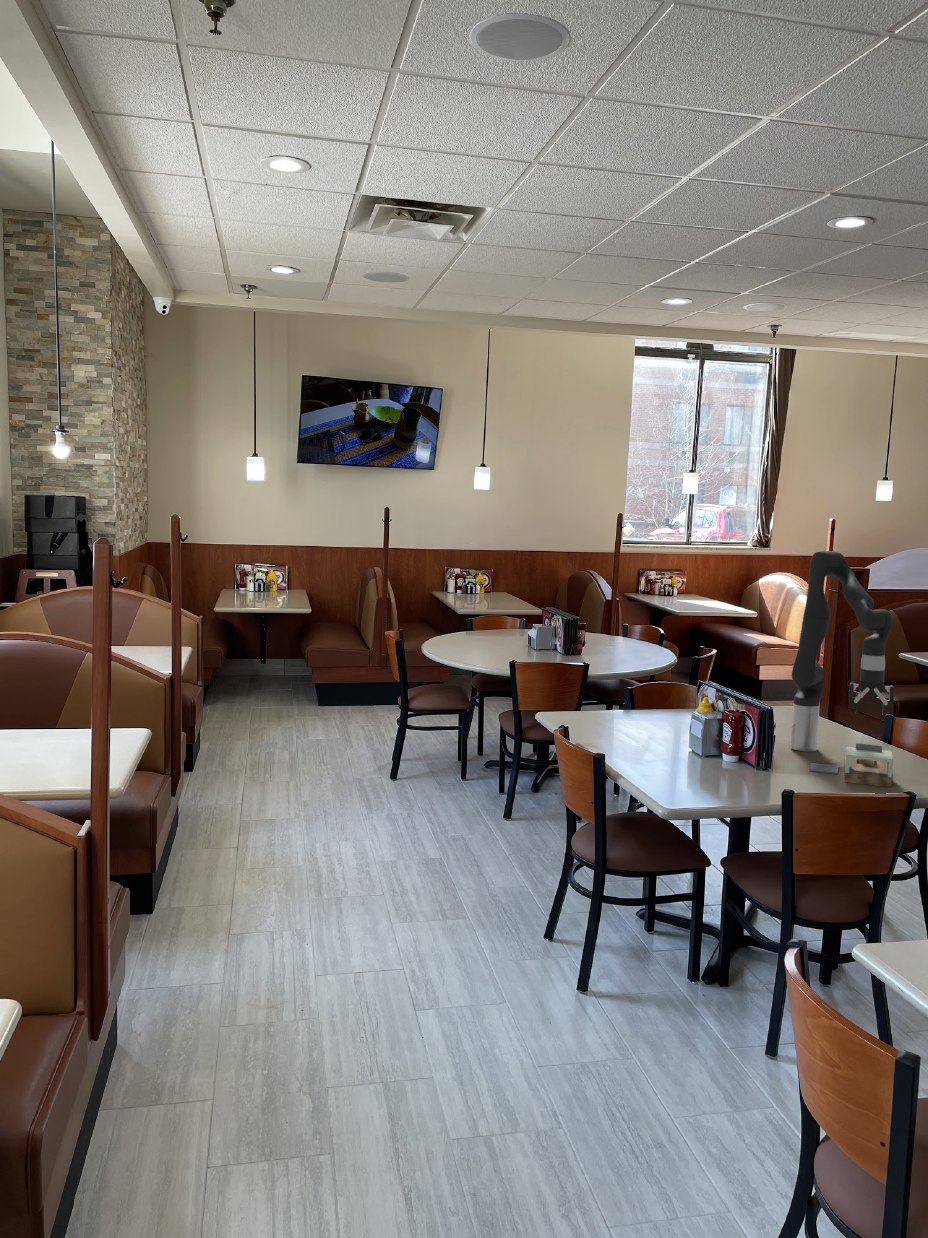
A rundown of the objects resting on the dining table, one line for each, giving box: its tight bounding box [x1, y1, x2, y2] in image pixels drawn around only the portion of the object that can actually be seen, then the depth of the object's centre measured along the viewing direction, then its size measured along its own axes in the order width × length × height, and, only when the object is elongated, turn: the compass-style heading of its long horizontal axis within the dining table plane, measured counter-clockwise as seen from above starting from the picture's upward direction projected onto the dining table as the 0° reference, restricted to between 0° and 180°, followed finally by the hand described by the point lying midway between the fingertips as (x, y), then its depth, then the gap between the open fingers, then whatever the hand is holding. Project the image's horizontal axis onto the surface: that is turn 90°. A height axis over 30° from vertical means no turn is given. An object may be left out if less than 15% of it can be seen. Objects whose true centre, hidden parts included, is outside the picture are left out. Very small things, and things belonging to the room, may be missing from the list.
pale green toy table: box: [844, 742, 894, 778], centre depth 300 cm, size 14×11×8 cm
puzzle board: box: [843, 754, 893, 788], centre depth 307 cm, size 14×25×3 cm, turn 157°
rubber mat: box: [809, 762, 839, 775], centre depth 313 cm, size 9×9×1 cm
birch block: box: [859, 759, 874, 766], centre depth 311 cm, size 4×4×6 cm
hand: (869, 714), depth 309 cm, fingers open, 8 cm apart
